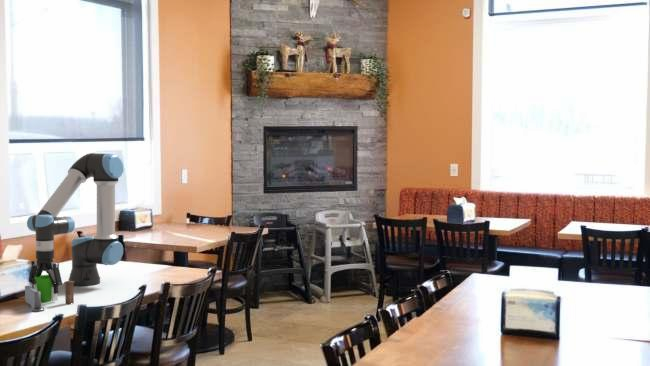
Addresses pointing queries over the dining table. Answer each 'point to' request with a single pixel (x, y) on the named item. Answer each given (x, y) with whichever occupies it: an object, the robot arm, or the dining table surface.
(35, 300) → the gate
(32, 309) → the hinge base
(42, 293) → the cup
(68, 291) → the post
